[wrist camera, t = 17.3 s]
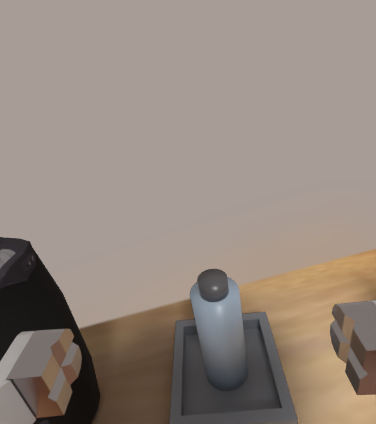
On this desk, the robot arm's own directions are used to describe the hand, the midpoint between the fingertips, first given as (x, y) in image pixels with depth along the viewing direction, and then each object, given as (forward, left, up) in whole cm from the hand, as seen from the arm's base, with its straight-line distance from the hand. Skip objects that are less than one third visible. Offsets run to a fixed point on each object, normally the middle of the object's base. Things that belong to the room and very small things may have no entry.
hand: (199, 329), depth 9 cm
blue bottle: (0, +14, -22) cm, 26 cm away
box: (0, +14, -22) cm, 26 cm away
